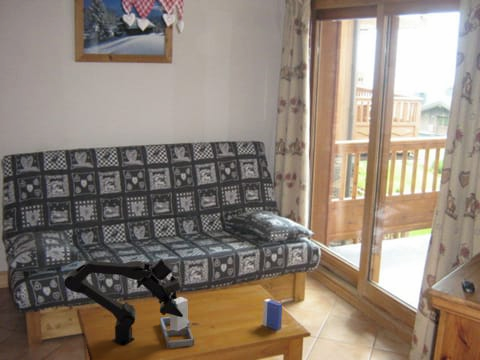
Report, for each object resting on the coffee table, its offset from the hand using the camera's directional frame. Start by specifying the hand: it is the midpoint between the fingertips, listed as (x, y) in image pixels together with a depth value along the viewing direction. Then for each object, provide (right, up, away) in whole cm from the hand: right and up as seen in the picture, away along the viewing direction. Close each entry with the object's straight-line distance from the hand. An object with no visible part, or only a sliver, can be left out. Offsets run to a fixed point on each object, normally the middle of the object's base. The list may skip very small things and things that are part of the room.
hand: (182, 312), depth 236 cm
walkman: (+37, -10, +17) cm, 42 cm away
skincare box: (-2, -7, +1) cm, 7 cm away
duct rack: (-3, -11, +7) cm, 13 cm away
